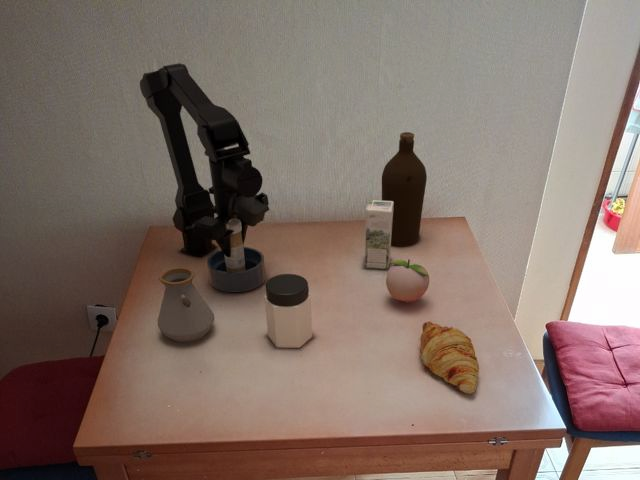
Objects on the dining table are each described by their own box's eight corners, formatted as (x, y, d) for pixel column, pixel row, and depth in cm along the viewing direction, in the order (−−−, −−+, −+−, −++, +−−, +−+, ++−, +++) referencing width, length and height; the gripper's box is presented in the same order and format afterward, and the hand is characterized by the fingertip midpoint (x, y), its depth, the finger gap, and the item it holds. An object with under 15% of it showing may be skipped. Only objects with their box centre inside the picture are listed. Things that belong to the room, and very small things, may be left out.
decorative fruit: (377, 307, 131) (379, 264, 124) (391, 289, 136) (394, 247, 130) (419, 316, 128) (424, 273, 121) (431, 298, 133) (436, 255, 127)
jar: (318, 342, 122) (316, 289, 114) (280, 353, 119) (276, 299, 111) (299, 321, 128) (296, 268, 120) (263, 331, 125) (258, 278, 117)
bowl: (199, 286, 139) (195, 265, 136) (232, 262, 147) (229, 242, 144) (244, 299, 134) (242, 278, 131) (276, 274, 143) (274, 254, 139)
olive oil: (429, 239, 154) (440, 134, 137) (398, 252, 150) (406, 145, 133) (401, 225, 161) (408, 124, 144) (370, 237, 156) (374, 133, 139)
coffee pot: (156, 322, 128) (141, 256, 118) (210, 312, 131) (200, 247, 121) (171, 381, 113) (154, 312, 103) (231, 369, 116) (221, 299, 106)
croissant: (482, 409, 111) (509, 375, 106) (440, 399, 106) (466, 363, 102) (435, 344, 125) (456, 311, 121) (396, 332, 120) (417, 298, 116)
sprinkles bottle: (239, 270, 143) (233, 215, 134) (250, 277, 140) (245, 221, 131) (223, 276, 141) (215, 220, 132) (233, 284, 138) (227, 228, 129)
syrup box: (390, 259, 147) (394, 199, 137) (388, 270, 143) (391, 210, 133) (367, 257, 148) (368, 198, 138) (364, 269, 144) (365, 209, 134)
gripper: (230, 205, 117) (239, 279, 127) (283, 173, 129) (287, 243, 139) (185, 195, 121) (197, 267, 132) (240, 165, 133) (247, 233, 143)
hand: (234, 252), depth 136 cm, fingers closed on sprinkles bottle, 4 cm apart
